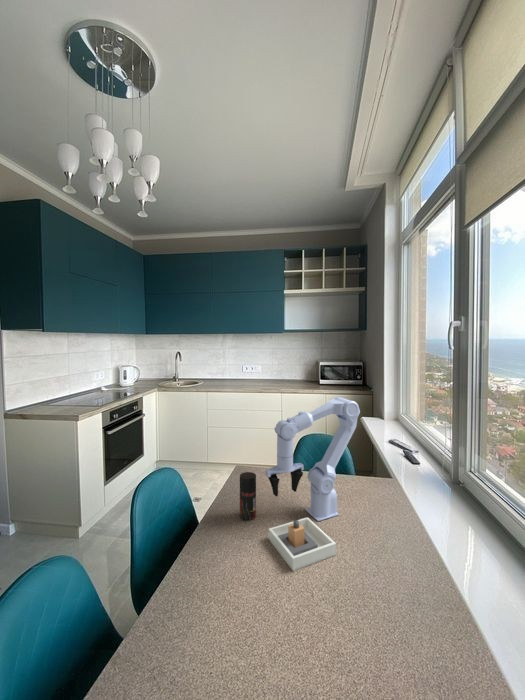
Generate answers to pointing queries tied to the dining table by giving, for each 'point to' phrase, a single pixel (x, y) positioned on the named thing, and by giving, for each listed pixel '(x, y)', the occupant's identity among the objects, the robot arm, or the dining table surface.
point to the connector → (296, 534)
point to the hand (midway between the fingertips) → (284, 492)
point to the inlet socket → (307, 546)
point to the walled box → (307, 558)
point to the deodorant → (247, 496)
